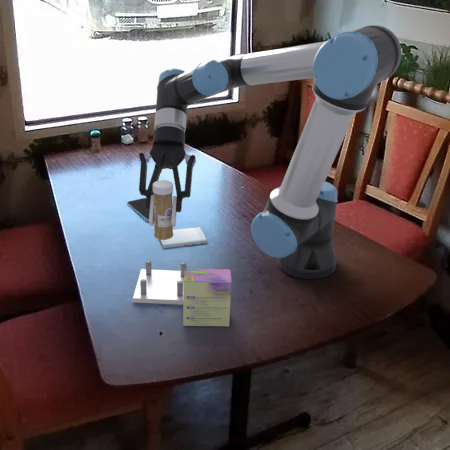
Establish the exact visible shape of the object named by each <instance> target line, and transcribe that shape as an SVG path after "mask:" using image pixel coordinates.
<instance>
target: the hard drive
mask: <svg viewBox="0 0 450 450" xmlns="http://www.w3.org/2000/svg"><path fill="white" fill-rule="evenodd" d="M158 240H159V242H160V245H161V247H162V249H166V248H167V249H168V248H177V247H183V246H184V245H187V246H193V245H192V244H195V245H199V244H198V243H203V244H207V243H208V239H207V238H206V236H205V234H204V232H203V230H202V228H201V227H200V226H199V227H189V228H179V229H173V237H172V238H170V239H167V240H160V239H158ZM206 242H207V243H206Z"/></svg>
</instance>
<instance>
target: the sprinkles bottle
mask: <svg viewBox="0 0 450 450" xmlns="http://www.w3.org/2000/svg"><path fill="white" fill-rule="evenodd" d="M173 191H174V183H173V182H172V181H170V180H165V179H162V180H158V181H156V182H154V183H153V195H154V225H153V226H154V230H153V231H154V234H153V235H154V238H155V239H157V240H159V239H160V240H167V239H170V238H172V237H173V230H174V227H172V224H171V219H172V206H173ZM160 240H159V241H160Z"/></svg>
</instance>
